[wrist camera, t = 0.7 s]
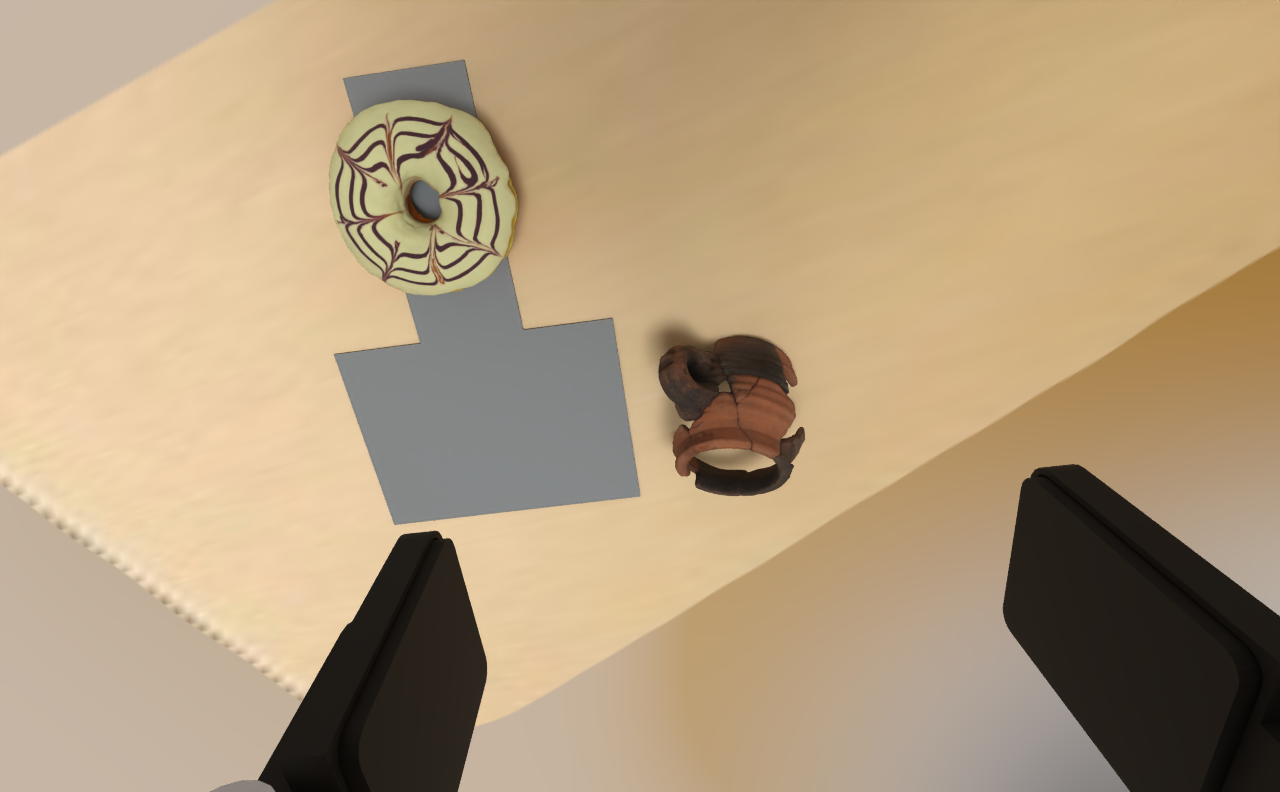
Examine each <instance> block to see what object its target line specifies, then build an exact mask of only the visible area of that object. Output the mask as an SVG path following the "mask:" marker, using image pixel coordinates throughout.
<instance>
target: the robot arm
mask: <svg viewBox="0 0 1280 792" xmlns="http://www.w3.org/2000/svg"><path fill="white" fill-rule="evenodd" d="M1003 614H1004V619H1005V622H1006V624H1007V627H1008V628H1009V630H1010V632H1011V633H1012V634H1013V636H1014V637H1015V638H1016V640H1017V641H1018V642H1019V644H1020V645H1021V646H1022V648H1023V649H1024V650H1025V652H1026V653H1027V654H1028V656H1029V657H1030V658H1031V660H1032V661H1033V662H1034V664H1035V665H1036V666H1037V668H1038V669H1039V670H1040V672H1041V673H1042V674H1043V676H1044V677H1045V678H1046V680H1047V681H1048V682H1049V684H1050V685H1051V686H1052V688H1053V689H1054V690H1055V692H1056V693H1057V694H1058V696H1059V697H1060V698H1061V700H1062V701H1063V702H1064V704H1065V705H1066V706H1067V708H1068V709H1069V710H1070V712H1071V713H1072V714H1073V716H1074V717H1075V718H1076V720H1077V721H1078V722H1079V724H1080V725H1081V726H1082V728H1083V729H1084V730H1085V732H1086V733H1087V735H1088V736H1089V737H1090V738H1091V740H1092V741H1093V743H1094V744H1095V745H1096V746H1097V748H1098V749H1099V750H1100V752H1101V753H1102V754H1103V756H1104V757H1105V759H1106V760H1107V761H1108V762H1109V764H1110V765H1111V767H1112V768H1113V769H1114V770H1115V772H1116V773H1117V774H1118V776H1119V777H1120V779H1121V780H1122V781H1123V783H1124V784H1125V785H1126V786H1127V788H1128V789H1129V790H1130V792H1280V616H1279V615H1277V614H1276V613H1275V612H1273V611H1272V610H1271V609H1269V608H1268V607H1267V606H1266V605H1264V604H1263V603H1262V602H1260V601H1259V600H1257V599H1256V598H1255V597H1254V596H1252V595H1251V594H1250V593H1248V592H1247V591H1246V590H1244V589H1243V588H1242V587H1241V586H1239V585H1238V584H1237V583H1235V582H1234V581H1233V580H1231V579H1230V578H1229V577H1227V576H1226V575H1225V574H1223V573H1222V572H1221V571H1219V570H1218V569H1217V568H1215V567H1214V566H1213V565H1211V564H1210V563H1209V562H1208V561H1206V560H1205V559H1203V558H1202V557H1201V556H1199V555H1198V554H1197V553H1195V552H1194V551H1193V550H1192V549H1190V548H1189V547H1188V546H1186V545H1185V544H1184V543H1182V542H1181V541H1180V540H1178V539H1177V538H1176V537H1175V536H1173V535H1172V534H1170V533H1169V532H1168V531H1167V530H1165V529H1164V528H1162V527H1161V526H1160V525H1159V524H1157V523H1156V522H1155V521H1153V520H1152V519H1151V518H1149V517H1148V516H1147V515H1145V514H1144V513H1143V512H1142V511H1140V510H1139V509H1138V508H1136V507H1135V506H1134V505H1132V504H1131V503H1130V502H1128V501H1127V500H1126V499H1124V498H1123V497H1122V496H1120V495H1119V494H1118V493H1116V492H1115V491H1114V490H1112V489H1111V488H1110V487H1109V486H1107V485H1106V484H1105V483H1103V482H1102V481H1101V480H1099V479H1098V478H1096V477H1095V476H1094V475H1092V474H1091V473H1090V472H1089V471H1087V470H1086V469H1085V468H1083V467H1081V466H1079V465H1074V464H1071V465H1062V466H1052V467H1042V468H1038V469H1036V470H1034V472H1033V473H1032V475H1031V478H1027V479H1025V480H1024V482H1023V483H1022V487H1021V492H1020V499H1019V506H1018V512H1017V519H1016V525H1015V532H1014V538H1013V545H1012V551H1011V558H1010V564H1009V571H1008V577H1007V584H1006V591H1005V597H1004V603H1003ZM486 678H487V661H486V656H485V652H484V649H483V645H482V642H481V638H480V635H479V631H478V628H477V624H476V621H475V617H474V614H473V610H472V607H471V603H470V600H469V596H468V592H467V589H466V585H465V582H464V578H463V575H462V571H461V568H460V564H459V561H458V557H457V554H456V550H455V547H454V544H453V542H452V540H451V539H449V538H447V539H443V538H442V536H441V534H440V533H439V532H438V531H429V532H420V533H410V534H403V535H401V536H400V537H399V539H398V540H397V542H396V544H395V546H394V547H393V549H392V551H391V553H390V555H389V556H388V558H387V560H386V562H385V564H384V565H383V567H382V569H381V571H380V573H379V574H378V576H377V578H376V580H375V582H374V583H373V585H372V587H371V589H370V591H369V592H368V594H367V596H366V598H365V600H364V601H363V603H362V605H361V607H360V609H359V610H358V612H357V614H356V616H355V618H354V619H353V621H352V622H351V623H349V624H347V626H346V627H345V628H344V630H343V631H342V632H341V634H340V636H339V638H338V639H337V641H336V643H335V645H334V646H333V648H332V650H331V652H330V653H329V655H328V657H327V659H326V660H325V662H324V664H323V666H322V668H321V669H320V671H319V673H318V675H317V676H316V678H315V680H314V682H313V683H312V685H311V687H310V689H309V691H308V692H307V694H306V696H305V698H304V699H303V701H302V703H301V705H300V706H299V708H298V710H297V712H296V713H295V715H294V717H293V719H292V721H291V722H290V724H289V726H288V728H287V729H286V731H285V733H284V735H283V736H282V738H281V740H280V742H279V744H278V745H277V747H276V749H275V751H274V752H273V754H272V756H271V758H270V759H269V761H268V763H267V765H266V767H265V768H264V770H263V772H262V774H261V775H260V777H259V779H258V780H252V781H251V780H249V781H248V780H246V781H238V782H234V783H231V784H227V785H224V786H221V787H219V788H217V789H215V790H213V791H211V792H458V788H459V784H460V780H461V777H462V773H463V769H464V765H465V761H466V757H467V753H468V749H469V745H470V742H471V738H472V734H473V730H474V726H475V722H476V718H477V714H478V710H479V707H480V703H481V699H482V695H483V691H484V687H485V683H486Z"/></svg>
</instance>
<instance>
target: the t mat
mask: <svg viewBox="0 0 1280 792" xmlns="http://www.w3.org/2000/svg"><path fill="white" fill-rule="evenodd" d="M343 80H344V84H345V87H346V90H347V94H348V97H349V101H350V104H351V108H352V111H353V114H354V117H355V116H357V115H358V114H359V113H360V112H362V111H363V110H365V109H367V108H370V107H372V106H374V105H377V104H382V103H387V102H392V101H396V100H417V101H424V102H436V103H439V104H442V105H444V106H447V107H450V108H455V109H458V110H461V111H464V112H466V113H468V114H470V115H472V116H473V117H475V118H476V119H477V116H476V112H475V107H474V102H473V98H472V93H471V89H470V84H469V80H468V75H467V70H466V66H465V61H464V60H462V61H455V62H448V63H442V64H435V65H429V66H422V67H416V68H409V69H402V70H396V71H389V72H383V73H376V74H370V75H363V76H356V77H350V78H343ZM411 201H412V203H413V205H414V208H415V209H416V210H417V212H418V214H422V217H424V218H427V219H431V220H437V219H438V218H439V217H440V215H441V212H442V210H441V207H440V204H439V192H438V191H435V190H433V189H432V188H431V186H430V185H429V184H428V183H426V182H425V181H423V180H419V181H418V182H416V183H414V185H413V188H412V189H411ZM406 295H407V299H408V302H409V306H410V309H411V313H412V316H413V319H414V323H415V326H416V330H417V333H418V336H419V340H420V343H418V344H410V345H402V346H395V347H387V348H379V349H371V350H364V351H356V352H348V353H341V354H334V356H335V359H336V362H337V365H338V367H339V370H340V373H341V376H342V379H343V381H344V384H345V387H346V390H347V393H348V396H349V398H350V401H351V404H352V407H353V410H354V412H355V415H356V418H357V421H358V424H359V426H360V429H361V432H362V435H363V438H364V441H365V443H366V446H367V449H368V452H369V455H370V457H371V460H372V463H373V466H374V469H375V471H376V474H377V477H378V480H379V483H380V486H381V488H382V491H383V494H384V497H385V500H386V502H387V505H388V508H389V511H390V514H391V516H392V519H393V522H394V525H397V524H406V523H415V522H423V521H432V520H441V519H449V518H458V517H466V516H475V515H484V514H492V513H501V512H510V511H518V510H527V509H536V508H544V507H553V506H562V505H570V504H579V503H588V502H596V501H605V500H614V499H622V498H631V497H640V491H639V485H638V478H637V472H636V466H635V459H634V453H633V446H632V440H631V434H630V427H629V421H628V415H627V408H626V402H625V395H624V389H623V383H622V376H621V370H620V364H619V357H618V351H617V344H616V338H615V332H614V325H613V319H612V318H610V319H602V320H595V321H587V322H579V323H572V324H564V325H556V326H549V327H541V328H533V329H525V330H523V326H522V321H521V317H520V312H519V308H518V303H517V299H516V294H515V289H514V285H513V280H512V276H511V271H510V267H509V262H508V257H507V256H506V257H505V258H504V259H503V260H502V261H501V262H500V263H499V265H498V266H497V268H496V269H495V271H494V272H493V273H492V275H490V276H489V277H488V278H486V279H485V280H483V281H481V282H479V283H478V284H476V285H474V286H472V287H468V288H464V289H463V290H461V291H456V292H450V293H444V294H439V295H413V294H408V293H406Z"/></svg>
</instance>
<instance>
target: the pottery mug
mask: <svg viewBox="0 0 1280 792" xmlns="http://www.w3.org/2000/svg"><path fill="white" fill-rule="evenodd" d="M658 373H659V380H660V384H661V386H662V388H663V390H664V392H665V393H666V395H667V396H668V398H669V399H671V400H672V401H673V402H674V403H675V407H676V409H677V411H678V414H679V416H680V417H681V418H682V419H683V420H685V421H691V420H694V422H693V424H692V427H691V428H690V429H689V428H688V427H687V426H686V425H683V424H682V425H680V426H679V428H678V430H677V433H676V435H675V436H674V440H673V453H674V455H675V457H676V461H675V464H676V465H675V468H676V470H677V472H678V473H679V475H680V476H689V475H690V471H692V472H694V473H695V474H696V480H695V486H696V488H698V489H700V490H703V491H706V492H710V493H714V494H718V495H726V496H740V495H742V496H750V495H751V496H753V495H757V494H764V493H767V492H770V491H773V490H775V489H777V488H779V487H781V486H782V485H783V484H784V483H785V482H786V481H787V480H788V479H789V478H790V474H791V472H792V469H793V467H794V465H793V464H790V463H791V462H792V461H793V460H794V459H795V457H796V456H797V455H798V453H799V450H800V448H801V446H802V444H803V442H804V440H805V432H804V428H803V427H800V428H799V429H798V430H797V432H796V434H795V435H792V436H791V437H789V438H784V439H781V438H782V437H783V436H784V435H785V434H786V433H787V430H788V429H789V428H790V426H791V425H792V422H793V421H794V419H795V417H796V414H795V406H794V403H793V402H792V400H791V399H790V398H789V397H788V396H787V394H788V393H789V390H788V384H787V382H786V380H787V381H788V383H789V384H790V385H791V386H792V387H794V386H796V385H797V377H796V375H795V372H794V370H793V368H792V364H791V361H790V360H789V358H788V357H787V356H786V354H784V353H783V352H782V351H781V350H780V349H778V348H777V347H774V346H773V345H772V344H770V343H767V342H764V341H762V340H760V339H753V338H749V337H734V338H725V339H720V340H718V341H717V342H716V348H715V352H714V353H711V352H708V351H701V350H699V349H697V348H695V347H693V346H689V345H684V346H683V345H678V346H675V347H672V348H671V349H669V350H668V352H667V353H666V354H665V355H663V356H662V357H661V359H660V364H659V372H658ZM724 380H727V382H728V384H729V386H730V389H731V392H719V387H718V385H720V384H721V383H722V382H723V381H724ZM724 448H733V449H744V450H751V451H753V452H757V453H760V454H762V455H764V456H766V457H768V458H770V459H773V460H774V462H775V463H776V464H775V465H773V466H771V467H767V468H761V469H757V470H754V471H751V472H747V471H746V470H725V469H718V468H716V467H713V466H711V465H709V464H707V463H705V462H703V461H701V460H699V459H697V458H696V457H695V455H697V454H698V453H700V452H704V451H708V450H714V449H724Z"/></svg>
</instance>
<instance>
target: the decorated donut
mask: <svg viewBox="0 0 1280 792" xmlns="http://www.w3.org/2000/svg"><path fill="white" fill-rule="evenodd" d="M329 179H330V182H329V190H330V203H331V207H332V211H333V215H334V219H335V222H336V224H337V226H338V228H339V230H340V232H341V235H342V237H343V239H344V241H345V243H346V245H347V247H348V248H349V250H350V251H351V252H352V254H353V255H354V256H355V258H356V260H357V261H358V262H359V263H360V264H361V265H362V267H364V268H365V269H366V270H367V271H368V272H369V273H370V274H372V275H375V276H377V277H378V278H379V279H381V280H382V281H384V282H385V283H387V284H388V285H390V286H392V287H394V288H396V289H400V290H402V291H403V292H405V293H408V294H413V295H439V294H444V293H450V292H456V291H461V290H463V289H464V288H468V287H472V286H474V285H476V284H478V283H479V282H481V281H483V280H485V279H486V278H488V277H489V276H490V275H492V273H493V272H494V271H495V269H496V268H497V266H498V265H499V263H500V262H501V261H502V260H503V259H504V258H505V257H506V256H507V254H508V253H509V251H510V249H511V247H512V243H513V240H514V226H515V222H516V220H517V212H518V201H517V196H516V192H515V189H514V187H513V185H512V181H511V179H510V176H509V170H508V168H507V167H506V165H505V163H504V161H503V160H502V158H501V157H500V155H499V154H498V153H497V150H496V147H495V146H494V144H493V141H492V138H491V136H490V134H489V132H488V131H487V130H486V128H485V127H484V125H483V124H482V123H481V122H480V121H479V120H478V119H476V118H475V117H473V116H472V115H470V114H468V113H466V112H464V111H461V110H458V109H455V108H450V107H447V106H444V105H442V104H439V103H436V102H424V101H417V100H396V101H392V102H387V103H382V104H377V105H374V106H372V107H370V108H367V109H365V110H363V111H362V112H360V113H359V114H358V115H357V116H355V117H354V119H353V120H352V121H351V122H350V123H349V124H348V125H347V126H346V128H345V129H344V130H343V131H342V133H341V134H340V136H339V139H338V142H337V144H336V148H335V151H334V153H333V156H332V159H331V163H330V172H329ZM419 180H423V181H425V182H426V183H428V184H429V185H430V186H431V188H432V189H433V190H435V191H438V192H439V204H440V207H441V210H442V212H441V215H440V217H439V218H438V219H437V220H431V219H427V218H424V217H422V214H418V212H417V210H416V209H415V208H414V205H413V203H412V201H411V189H412V188H413V185H414V183H416V182H418V181H419Z"/></svg>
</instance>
